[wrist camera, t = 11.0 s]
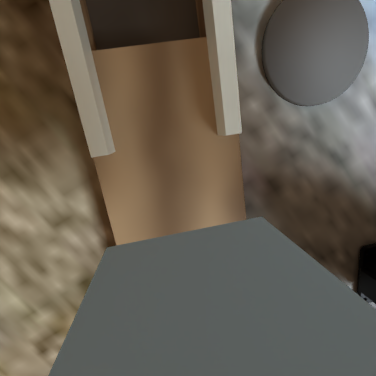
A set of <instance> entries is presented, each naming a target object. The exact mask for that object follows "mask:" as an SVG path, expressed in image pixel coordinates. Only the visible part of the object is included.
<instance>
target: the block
mask: <svg viewBox="0 0 376 376" xmlns="http://www.w3.org/2000/svg"><path fill="white" fill-rule="evenodd" d="M48 376H376V309H375V308H374V307H373V306H371V305H370V304H369V303H368V302H366V301H365V300H364V299H363V298H361V297H360V296H359V295H358V294H357V293H355V292H354V291H353V290H352V289H350V288H349V287H348V286H347V285H345V284H344V283H343V282H342V281H341V280H339V279H338V278H337V277H336V276H334V275H333V274H332V273H331V272H329V271H328V270H327V269H326V268H325V267H323V266H322V265H321V264H320V263H318V262H317V261H316V260H315V259H314V258H312V257H311V256H310V255H309V254H307V253H306V252H305V251H304V250H302V249H301V248H300V247H299V246H298V245H296V244H295V243H294V242H293V241H291V240H290V239H289V238H288V237H286V236H285V235H284V234H283V233H282V232H280V231H279V230H278V229H277V228H275V227H274V226H273V225H272V224H270V223H269V222H268V221H267V220H266V219H264V218H263V217H257V218H252V219H247V220H242V221H237V222H232V223H227V224H222V225H217V226H212V227H207V228H202V229H197V230H192V231H187V232H182V233H177V234H172V235H167V236H162V237H157V238H152V239H147V240H142V241H137V242H132V243H127V244H122V245H117V246H112V247H107V248H106V250H105V252H104V255H103V257H102V259H101V261H100V263H99V266H98V268H97V270H96V272H95V274H94V277H93V279H92V281H91V283H90V285H89V288H88V290H87V292H86V294H85V296H84V299H83V301H82V303H81V305H80V307H79V310H78V312H77V314H76V316H75V318H74V321H73V323H72V325H71V327H70V329H69V332H68V334H67V336H66V338H65V340H64V342H63V345H62V347H61V349H60V351H59V353H58V356H57V358H56V360H55V362H54V364H53V367H52V369H51V371H50V373H49V375H48Z"/></svg>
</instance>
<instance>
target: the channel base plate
mask: <svg viewBox="0 0 376 376" xmlns="http://www.w3.org/2000/svg"><path fill="white" fill-rule="evenodd" d="M79 1H80V5H81V9H82V13H83V17H84V22H85V26H86V30H87V34H88V38H89V43H90V47H91V51H92V55H93V60H94V64H95V68H96V72H97V76H98V81H99V85H100V89H101V93H102V97H103V102H104V106H105V110H106V114H107V118H108V123H109V127H110V131H111V135H112V139H113V144H114V148H115V152H114V153H112V154H109V155H104V156H98V157H93V159H94V163H95V167H96V171H97V175H98V178H99V182H100V186H101V190H102V193H103V197H104V201H105V205H106V208H107V212H108V216H109V220H110V223H111V227H112V231H113V235H114V238H115V242H116V246H117V245H122V244H127V243H132V242H137V241H142V240H147V239H152V238H157V237H162V236H167V235H172V234H177V233H182V232H187V231H192V230H197V229H202V228H207V227H212V226H217V225H222V224H227V223H232V222H237V221H242V220H246V210H245V199H244V188H243V176H242V165H241V154H240V143H239V134H233V135H227V136H223V135H218V134H217V125H216V116H215V108H214V99H213V90H212V81H211V72H210V64H209V55H208V46H207V37H206V28H205V20H204V11H203V2H202V0H79Z"/></svg>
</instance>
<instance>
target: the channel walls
mask: <svg viewBox="0 0 376 376" xmlns="http://www.w3.org/2000/svg"><path fill="white" fill-rule="evenodd" d="M202 2H203V11H204V20H205V28H206V37H207V46H208V55H209V64H210V72H211V81H212V90H213V99H214V108H215V116H216V125H217V134H218V135H223V136H227V135H233V134H239V133H242V126H241V114H240V103H239V91H238V79H237V67H236V56H235V44H234V32H233V20H232V9H231V0H202ZM49 3H50V7H51V10H52V14H53V18H54V22H55V25H56V29H57V33H58V36H59V40H60V44H61V48H62V51H63V55H64V59H65V63H66V66H67V70H68V74H69V77H70V81H71V85H72V89H73V92H74V96H75V100H76V103H77V107H78V111H79V115H80V118H81V122H82V126H83V130H84V133H85V137H86V141H87V144H88V148H89V152H90V156H91V158H92V157H98V156H104V155H109V154H112V153H114V152H115V148H114V144H113V139H112V135H111V131H110V127H109V123H108V118H107V114H106V110H105V106H104V102H103V97H102V93H101V89H100V85H99V81H98V76H97V72H96V68H95V64H94V60H93V55H92V51H91V47H90V43H89V38H88V34H87V30H86V26H85V22H84V17H83V13H82V9H81V5H80V1H79V0H49Z"/></svg>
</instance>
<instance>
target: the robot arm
mask: <svg viewBox="0 0 376 376" xmlns="http://www.w3.org/2000/svg"><path fill="white" fill-rule="evenodd" d="M357 294H358V295H359V296H360V297H361V298H363V299H364V300H365V301H366V302H368V303H370V302H374V303H375V304H376V244H372V245H367V246H364V247H362V248H361V250H360V260H359V277H358V293H357Z"/></svg>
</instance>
